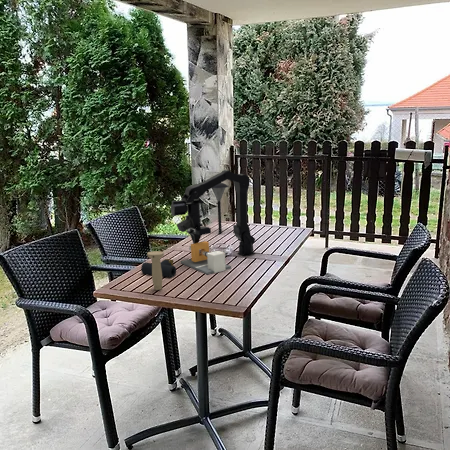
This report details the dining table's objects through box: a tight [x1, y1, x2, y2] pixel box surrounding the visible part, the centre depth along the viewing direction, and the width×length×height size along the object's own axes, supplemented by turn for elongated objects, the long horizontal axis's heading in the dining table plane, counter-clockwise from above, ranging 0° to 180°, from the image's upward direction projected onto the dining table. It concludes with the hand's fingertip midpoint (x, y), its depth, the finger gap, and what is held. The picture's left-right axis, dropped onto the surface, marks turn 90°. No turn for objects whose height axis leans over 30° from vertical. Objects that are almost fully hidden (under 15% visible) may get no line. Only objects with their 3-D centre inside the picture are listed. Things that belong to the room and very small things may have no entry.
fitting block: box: [207, 250, 226, 274], centre depth 197 cm, size 6×5×8 cm
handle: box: [147, 250, 165, 291], centre depth 177 cm, size 5×6×15 cm
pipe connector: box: [140, 258, 177, 278], centre depth 198 cm, size 12×5×15 cm
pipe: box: [188, 245, 210, 257], centre depth 205 cm, size 2×21×2 cm, turn 37°
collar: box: [190, 240, 210, 262], centre depth 207 cm, size 8×3×8 cm, turn 126°
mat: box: [180, 258, 232, 275], centre depth 205 cm, size 13×22×1 cm, turn 36°
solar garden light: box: [211, 182, 230, 235], centre depth 261 cm, size 12×12×30 cm
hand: (195, 245), depth 210 cm, fingers closed
